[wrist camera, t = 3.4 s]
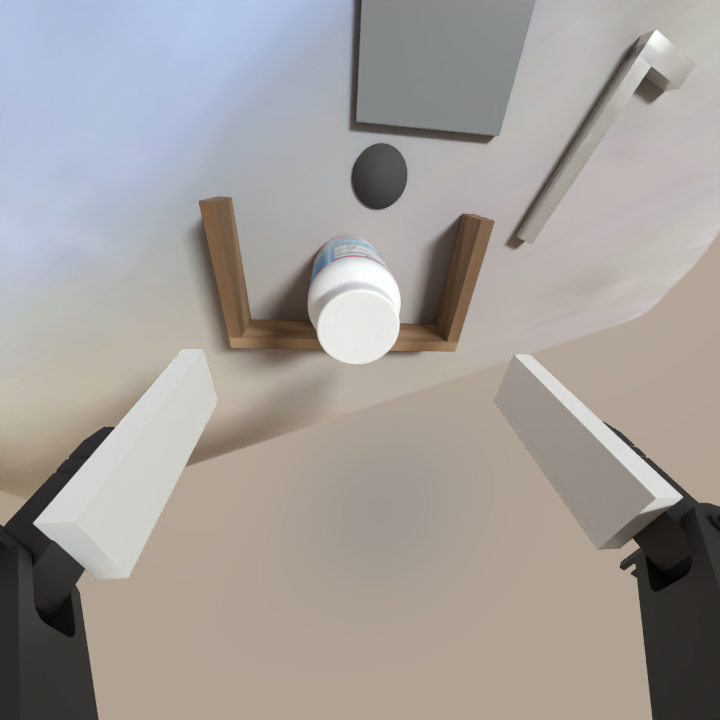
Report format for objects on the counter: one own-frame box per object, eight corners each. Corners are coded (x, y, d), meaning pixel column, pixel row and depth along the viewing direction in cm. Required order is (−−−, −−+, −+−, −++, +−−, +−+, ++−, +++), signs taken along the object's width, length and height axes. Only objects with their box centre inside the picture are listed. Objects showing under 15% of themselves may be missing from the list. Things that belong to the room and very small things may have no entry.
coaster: (355, 122, 19) (356, 121, 19) (368, -149, 13) (369, -161, 13) (495, 136, 20) (499, 135, 20) (560, -110, 14) (568, -120, 14)
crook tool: (513, 235, 24) (520, 238, 23) (638, 37, 18) (655, 29, 17) (548, 252, 25) (556, 255, 24) (677, 69, 19) (696, 64, 18)
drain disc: (351, 205, 22) (352, 206, 22) (354, 141, 20) (354, 140, 19) (402, 209, 22) (402, 209, 22) (410, 146, 20) (411, 146, 20)
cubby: (242, 328, 27) (230, 347, 24) (217, 196, 21) (198, 201, 18) (442, 333, 29) (455, 351, 26) (474, 214, 23) (494, 221, 20)
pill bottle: (341, 314, 27) (345, 391, 18) (299, 261, 24) (277, 320, 15) (395, 278, 25) (431, 341, 16) (357, 216, 22) (375, 250, 13)
